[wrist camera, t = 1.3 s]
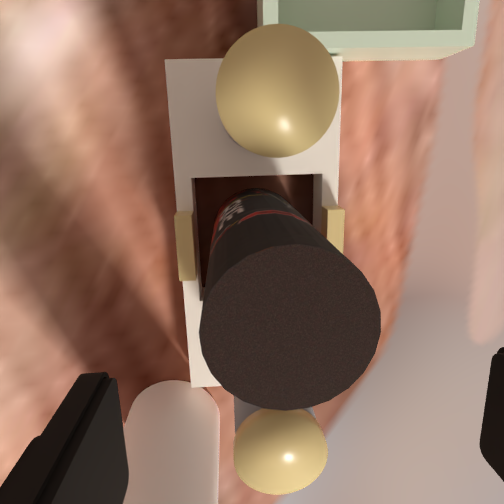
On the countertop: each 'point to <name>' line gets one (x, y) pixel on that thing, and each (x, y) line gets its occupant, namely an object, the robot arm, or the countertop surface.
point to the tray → (380, 26)
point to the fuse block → (257, 164)
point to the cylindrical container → (172, 445)
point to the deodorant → (283, 307)
